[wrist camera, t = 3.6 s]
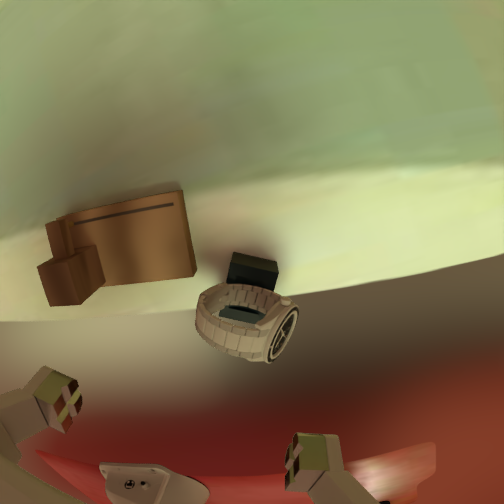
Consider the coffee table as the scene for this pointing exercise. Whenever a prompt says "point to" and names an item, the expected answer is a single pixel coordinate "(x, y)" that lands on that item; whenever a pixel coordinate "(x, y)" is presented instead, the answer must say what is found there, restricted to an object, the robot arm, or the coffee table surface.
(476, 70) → the coffee table surface
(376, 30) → the coffee table surface
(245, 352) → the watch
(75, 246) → the board
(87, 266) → the brown stepped block
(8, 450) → the robot arm
